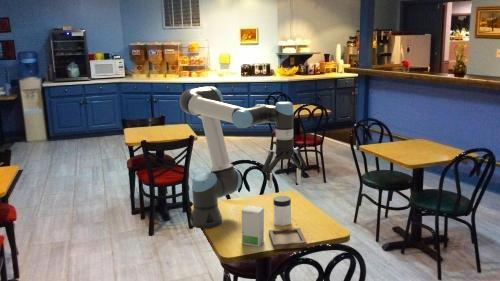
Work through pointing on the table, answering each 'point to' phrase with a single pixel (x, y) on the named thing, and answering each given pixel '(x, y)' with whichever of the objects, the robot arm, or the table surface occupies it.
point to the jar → (282, 210)
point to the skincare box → (252, 225)
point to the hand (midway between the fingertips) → (284, 185)
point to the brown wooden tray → (287, 238)
